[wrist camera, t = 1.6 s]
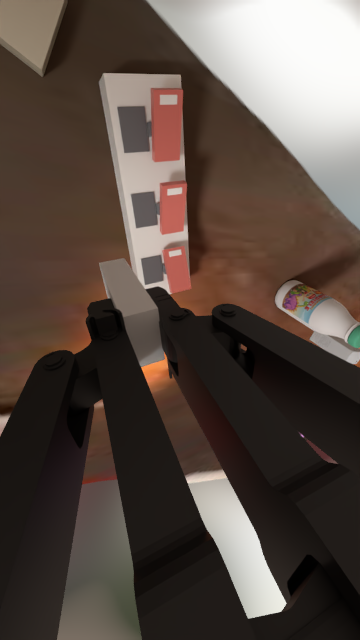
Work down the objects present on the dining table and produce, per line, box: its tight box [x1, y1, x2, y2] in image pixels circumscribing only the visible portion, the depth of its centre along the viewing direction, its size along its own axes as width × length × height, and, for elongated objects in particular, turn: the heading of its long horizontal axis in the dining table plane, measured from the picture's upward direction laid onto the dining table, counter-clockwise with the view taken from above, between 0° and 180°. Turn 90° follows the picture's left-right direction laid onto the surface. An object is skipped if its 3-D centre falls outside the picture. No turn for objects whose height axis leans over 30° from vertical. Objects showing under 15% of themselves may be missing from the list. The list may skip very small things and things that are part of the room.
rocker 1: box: [151, 88, 183, 162], centre depth 29 cm, size 3×7×1 cm, turn 4°
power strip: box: [99, 73, 190, 294], centre depth 39 cm, size 9×35×5 cm, turn 4°
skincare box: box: [310, 331, 360, 364], centre depth 71 cm, size 6×4×12 cm
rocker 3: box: [162, 246, 191, 293], centre depth 39 cm, size 3×7×1 cm, turn 4°
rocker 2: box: [160, 180, 187, 235], centre depth 34 cm, size 3×7×1 cm, turn 4°
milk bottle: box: [275, 280, 360, 348], centre depth 53 cm, size 8×8×20 cm
